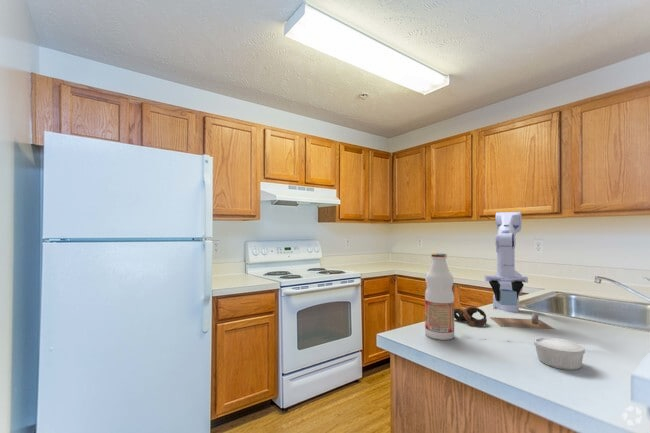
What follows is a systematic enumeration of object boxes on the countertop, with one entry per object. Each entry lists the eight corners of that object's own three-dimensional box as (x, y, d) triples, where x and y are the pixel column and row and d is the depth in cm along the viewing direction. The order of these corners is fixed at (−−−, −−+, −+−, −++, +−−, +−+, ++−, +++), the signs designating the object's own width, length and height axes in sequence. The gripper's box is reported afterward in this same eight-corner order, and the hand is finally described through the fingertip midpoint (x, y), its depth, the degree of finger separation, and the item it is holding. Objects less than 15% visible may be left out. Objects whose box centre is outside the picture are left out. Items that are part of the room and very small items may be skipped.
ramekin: (537, 351, 95) (536, 334, 96) (585, 362, 88) (584, 342, 89) (532, 364, 87) (531, 344, 87) (584, 376, 80) (584, 355, 80)
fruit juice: (437, 342, 103) (437, 255, 104) (419, 332, 112) (419, 252, 113) (460, 338, 106) (460, 254, 107) (441, 330, 115) (440, 252, 116)
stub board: (500, 330, 115) (500, 316, 115) (489, 321, 126) (489, 308, 127) (556, 333, 112) (555, 319, 112) (539, 323, 124) (538, 310, 124)
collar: (501, 304, 118) (501, 291, 118) (495, 301, 123) (495, 288, 123) (517, 305, 117) (516, 291, 117) (511, 302, 122) (510, 289, 123)
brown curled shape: (483, 325, 123) (489, 309, 119) (481, 342, 116) (487, 326, 112) (451, 313, 128) (455, 298, 124) (447, 329, 120) (452, 313, 116)
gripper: (488, 265, 118) (489, 302, 117) (531, 266, 116) (532, 304, 115) (482, 263, 125) (482, 298, 124) (522, 264, 122) (523, 300, 122)
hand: (506, 301), depth 120 cm, fingers closed on collar, 5 cm apart
